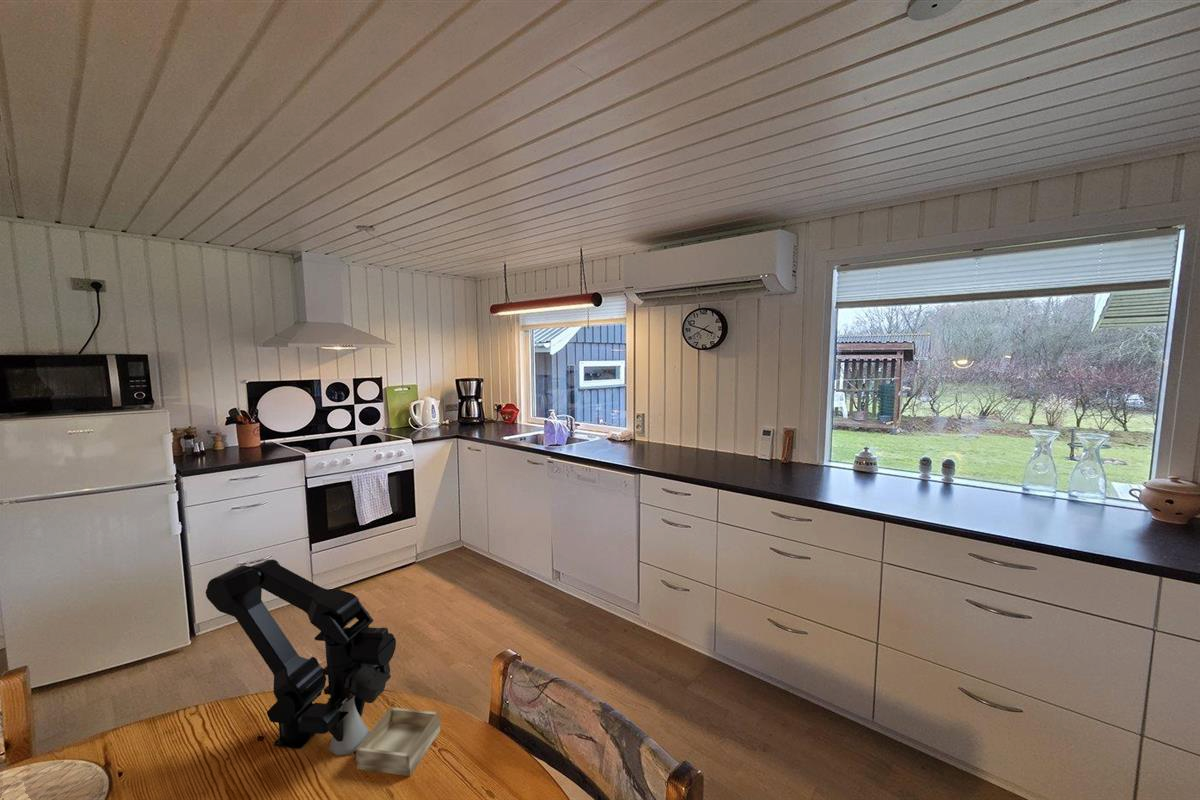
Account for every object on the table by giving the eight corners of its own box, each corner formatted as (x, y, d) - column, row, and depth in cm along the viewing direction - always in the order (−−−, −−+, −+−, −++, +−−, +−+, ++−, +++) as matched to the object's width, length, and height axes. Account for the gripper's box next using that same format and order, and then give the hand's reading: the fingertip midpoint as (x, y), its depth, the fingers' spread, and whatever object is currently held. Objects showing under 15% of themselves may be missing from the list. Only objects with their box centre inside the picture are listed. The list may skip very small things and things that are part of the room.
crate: (357, 768, 92) (355, 749, 91) (392, 724, 103) (390, 707, 102) (410, 776, 90) (408, 756, 89) (440, 730, 101) (439, 712, 100)
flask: (352, 759, 94) (348, 711, 93) (321, 754, 96) (317, 707, 95) (377, 731, 101) (373, 686, 100) (347, 726, 103) (343, 682, 102)
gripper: (346, 694, 86) (353, 774, 87) (405, 635, 104) (410, 702, 106) (292, 689, 88) (299, 767, 89) (360, 631, 106) (365, 697, 108)
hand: (348, 730), depth 98 cm, fingers closed on flask, 5 cm apart
